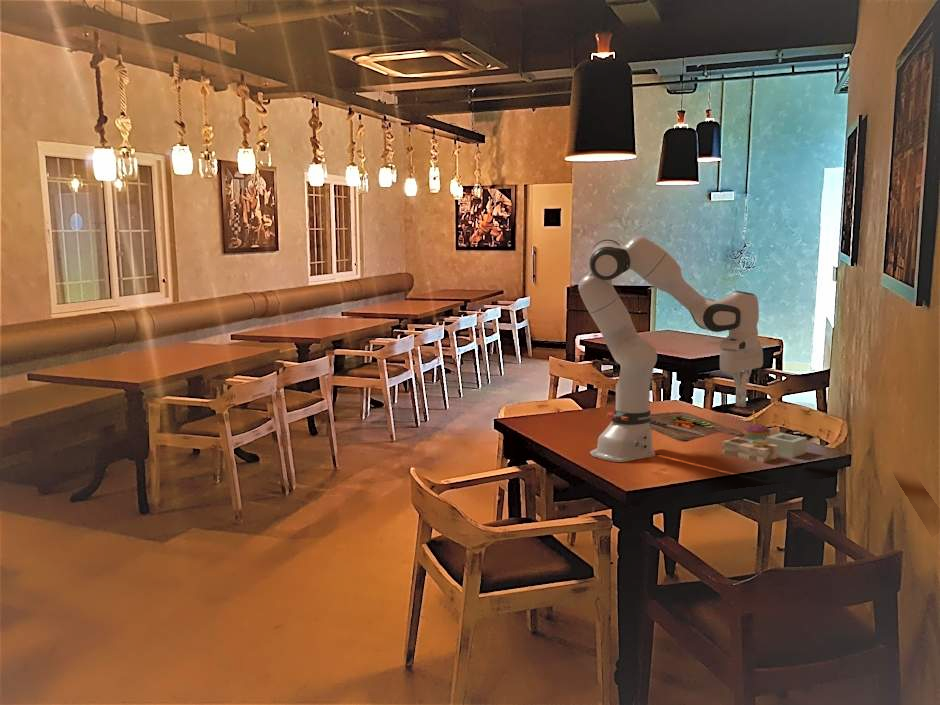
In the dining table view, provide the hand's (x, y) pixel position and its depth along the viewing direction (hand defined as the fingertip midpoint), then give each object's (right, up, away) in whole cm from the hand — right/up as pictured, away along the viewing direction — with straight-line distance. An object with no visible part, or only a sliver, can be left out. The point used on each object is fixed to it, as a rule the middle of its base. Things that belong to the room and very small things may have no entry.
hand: (741, 384), depth 240 cm
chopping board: (-6, -19, +44) cm, 49 cm away
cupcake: (+12, -22, +18) cm, 30 cm away
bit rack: (+16, -24, +3) cm, 29 cm away
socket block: (+3, -24, 0) cm, 24 cm away
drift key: (+5, -24, -3) cm, 25 cm away
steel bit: (0, -7, +1) cm, 7 cm away
